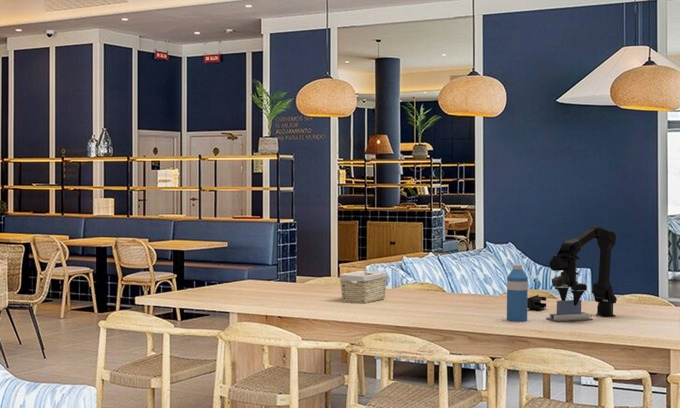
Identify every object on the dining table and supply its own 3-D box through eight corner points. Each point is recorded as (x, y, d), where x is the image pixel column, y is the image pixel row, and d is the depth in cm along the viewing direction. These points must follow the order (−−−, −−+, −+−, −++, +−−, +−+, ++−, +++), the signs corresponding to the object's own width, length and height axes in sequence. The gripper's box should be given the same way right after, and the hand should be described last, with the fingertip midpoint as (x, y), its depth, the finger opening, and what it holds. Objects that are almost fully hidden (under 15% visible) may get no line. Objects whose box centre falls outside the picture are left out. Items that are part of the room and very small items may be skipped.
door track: (579, 317, 434) (579, 311, 434) (592, 320, 424) (592, 314, 424) (546, 319, 427) (546, 313, 427) (558, 322, 418) (558, 316, 418)
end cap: (532, 308, 465) (532, 294, 465) (546, 309, 461) (546, 295, 461) (525, 310, 457) (525, 296, 457) (539, 311, 453) (539, 297, 453)
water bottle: (524, 318, 429) (525, 264, 428) (529, 321, 420) (530, 265, 419) (504, 318, 429) (505, 264, 428) (508, 321, 419) (509, 265, 419)
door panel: (579, 317, 429) (579, 299, 428) (581, 317, 427) (581, 300, 427) (556, 318, 424) (556, 300, 424) (558, 319, 423) (558, 301, 423)
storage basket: (365, 304, 477) (365, 275, 477) (338, 302, 486) (338, 273, 486) (388, 299, 498) (388, 271, 497) (361, 297, 506) (361, 269, 506)
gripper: (542, 268, 431) (542, 302, 431) (566, 272, 414) (566, 307, 414) (563, 267, 435) (563, 301, 435) (587, 271, 417) (587, 306, 418)
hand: (569, 304), depth 426 cm, fingers open, 9 cm apart
